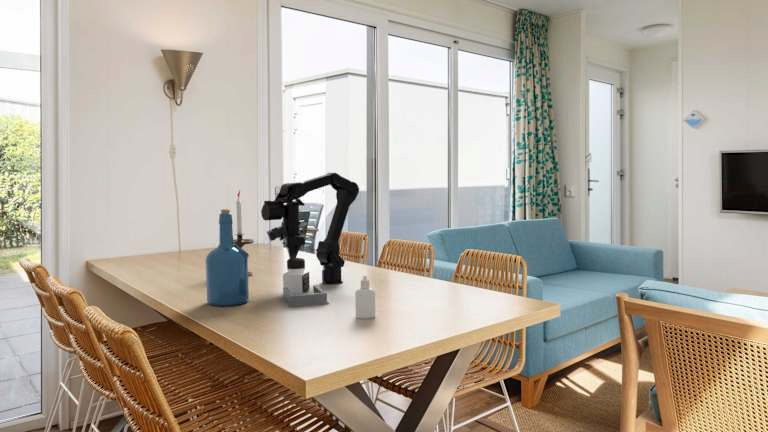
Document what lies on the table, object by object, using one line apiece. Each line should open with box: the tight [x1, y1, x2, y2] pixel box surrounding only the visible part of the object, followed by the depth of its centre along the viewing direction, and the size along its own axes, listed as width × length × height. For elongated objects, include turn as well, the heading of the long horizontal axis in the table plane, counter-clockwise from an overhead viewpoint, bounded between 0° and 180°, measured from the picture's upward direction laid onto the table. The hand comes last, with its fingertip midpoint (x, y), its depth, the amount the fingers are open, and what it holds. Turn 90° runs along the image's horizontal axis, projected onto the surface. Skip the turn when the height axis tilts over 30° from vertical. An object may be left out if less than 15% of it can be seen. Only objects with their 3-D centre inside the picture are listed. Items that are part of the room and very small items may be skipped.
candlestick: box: [233, 189, 254, 278], centre depth 226 cm, size 11×11×35 cm
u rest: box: [281, 284, 330, 308], centre depth 179 cm, size 14×13×3 cm
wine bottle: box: [205, 208, 250, 307], centre depth 178 cm, size 14×13×30 cm
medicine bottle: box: [282, 257, 311, 295], centre depth 192 cm, size 7×7×12 cm
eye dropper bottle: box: [354, 274, 376, 320], centre depth 157 cm, size 4×6×12 cm
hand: (292, 262), depth 198 cm, fingers closed
